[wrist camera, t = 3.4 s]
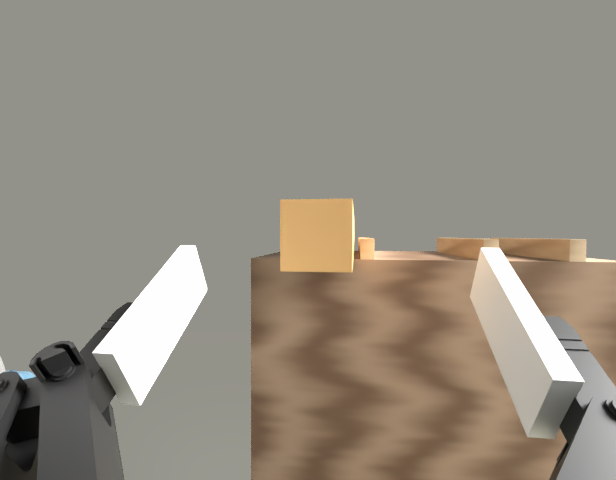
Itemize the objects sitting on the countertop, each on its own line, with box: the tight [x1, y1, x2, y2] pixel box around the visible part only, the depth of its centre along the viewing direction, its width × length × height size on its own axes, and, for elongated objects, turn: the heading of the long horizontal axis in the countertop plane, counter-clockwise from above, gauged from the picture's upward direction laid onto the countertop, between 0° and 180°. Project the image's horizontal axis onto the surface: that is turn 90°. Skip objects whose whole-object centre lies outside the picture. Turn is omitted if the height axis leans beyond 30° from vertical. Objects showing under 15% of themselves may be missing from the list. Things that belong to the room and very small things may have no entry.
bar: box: [280, 199, 354, 272], centre depth 28 cm, size 4×24×4 cm, turn 172°
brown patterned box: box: [251, 238, 616, 480], centre depth 32 cm, size 26×14×32 cm, turn 82°
